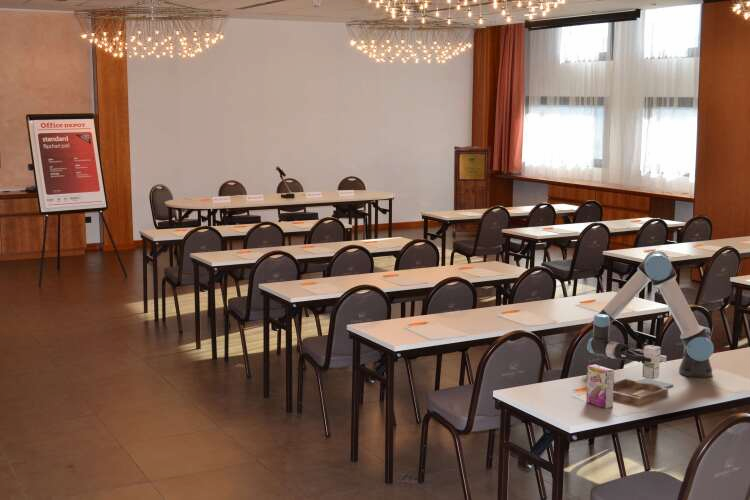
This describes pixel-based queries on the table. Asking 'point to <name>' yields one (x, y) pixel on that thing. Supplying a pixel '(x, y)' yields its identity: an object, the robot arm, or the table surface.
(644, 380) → the grey mat
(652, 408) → the table surface
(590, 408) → the table surface
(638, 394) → the top offcut
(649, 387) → the walnut frame
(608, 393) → the candy bar box
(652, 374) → the syrup box
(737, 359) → the table surface
